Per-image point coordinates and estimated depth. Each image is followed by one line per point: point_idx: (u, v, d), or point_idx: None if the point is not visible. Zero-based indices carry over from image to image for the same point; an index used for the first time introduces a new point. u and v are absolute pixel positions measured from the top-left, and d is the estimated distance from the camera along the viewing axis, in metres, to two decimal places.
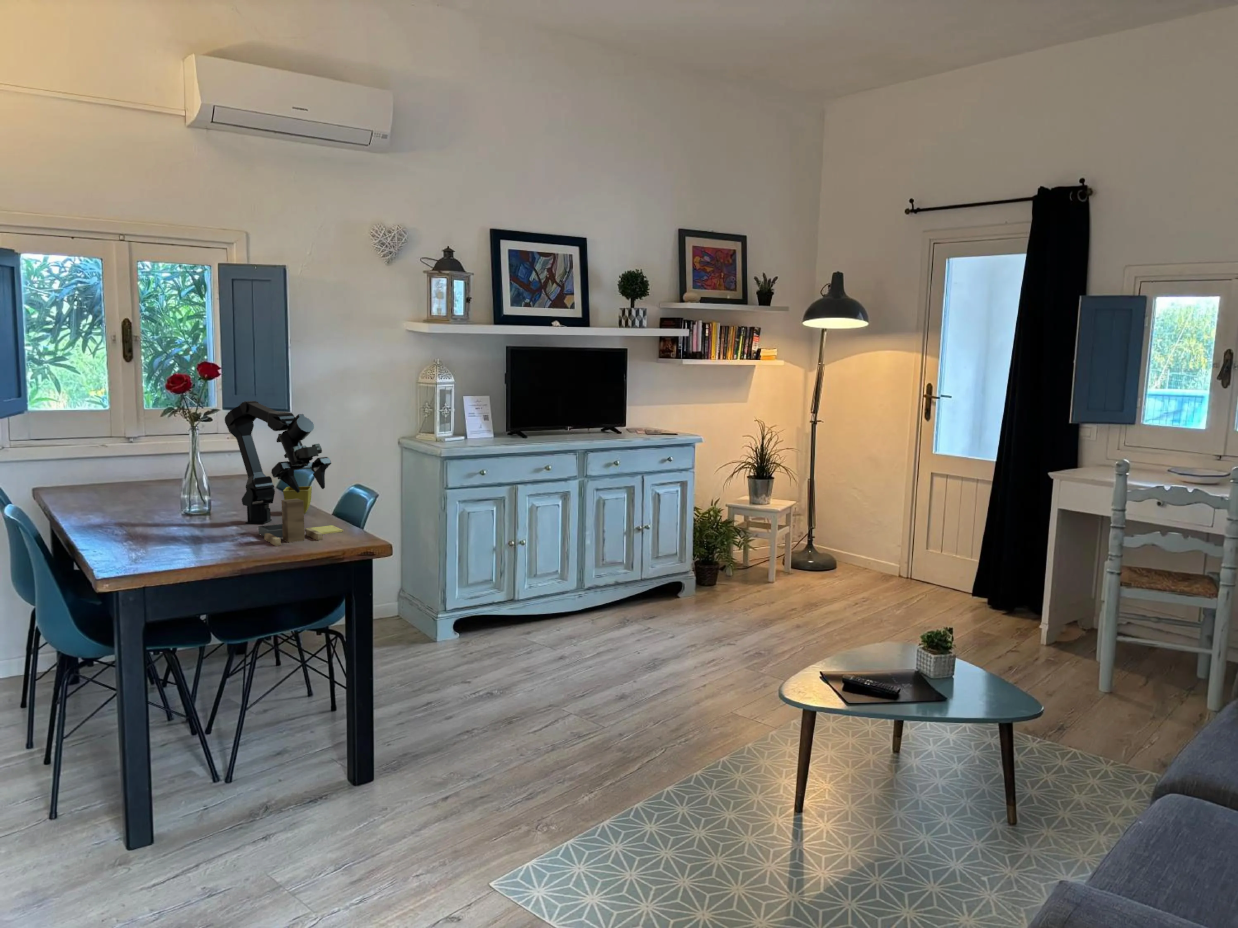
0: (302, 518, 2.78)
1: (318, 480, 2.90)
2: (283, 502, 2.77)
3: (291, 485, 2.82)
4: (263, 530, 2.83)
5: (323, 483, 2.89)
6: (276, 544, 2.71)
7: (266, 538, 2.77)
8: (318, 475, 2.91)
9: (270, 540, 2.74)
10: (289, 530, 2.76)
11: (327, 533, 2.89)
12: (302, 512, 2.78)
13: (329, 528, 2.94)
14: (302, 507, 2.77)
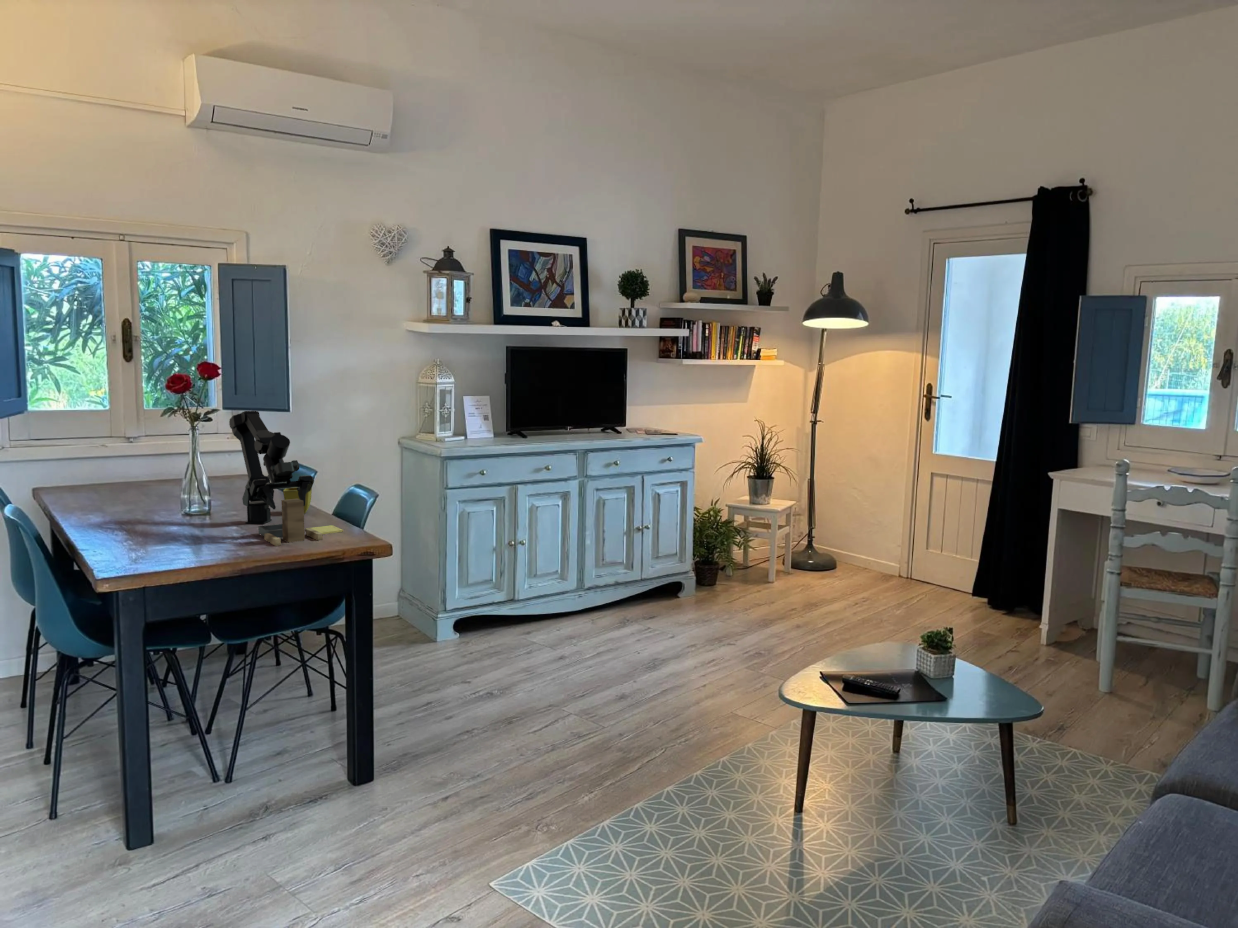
0: (302, 518, 2.78)
1: (300, 498, 2.85)
2: (283, 502, 2.77)
3: (268, 502, 2.78)
4: (263, 530, 2.83)
5: (304, 500, 2.83)
6: (276, 544, 2.71)
7: (266, 538, 2.77)
8: (300, 493, 2.85)
9: (270, 540, 2.74)
10: (289, 530, 2.76)
11: (327, 533, 2.89)
12: (302, 512, 2.78)
13: (329, 528, 2.94)
14: (302, 507, 2.77)
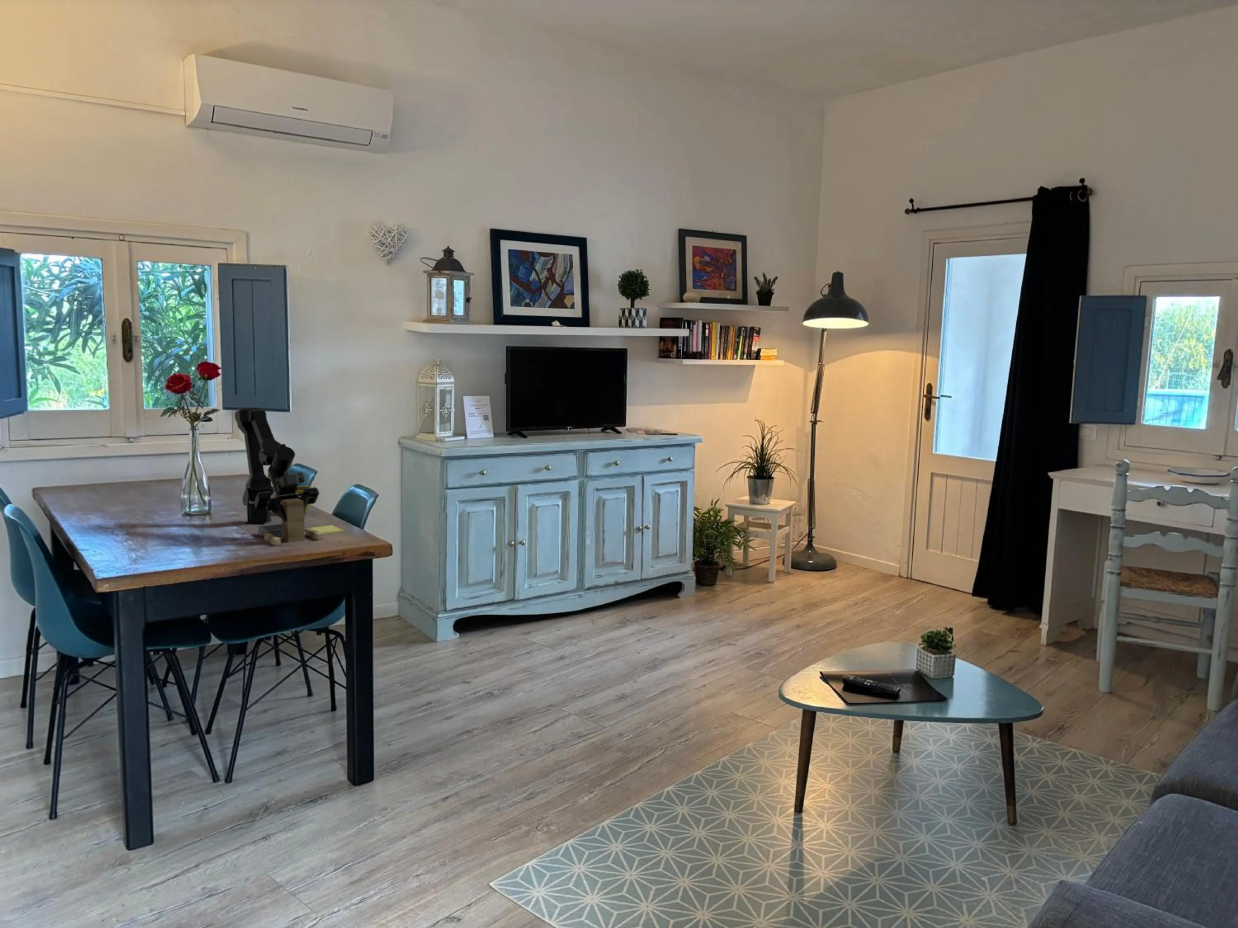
0: (302, 518, 2.78)
1: None
2: (283, 502, 2.77)
3: (279, 515, 2.77)
4: (263, 530, 2.83)
5: None
6: (276, 544, 2.71)
7: (266, 538, 2.77)
8: None
9: (270, 540, 2.74)
10: (289, 530, 2.76)
11: (327, 533, 2.89)
12: (302, 512, 2.78)
13: (329, 528, 2.94)
14: (302, 507, 2.77)
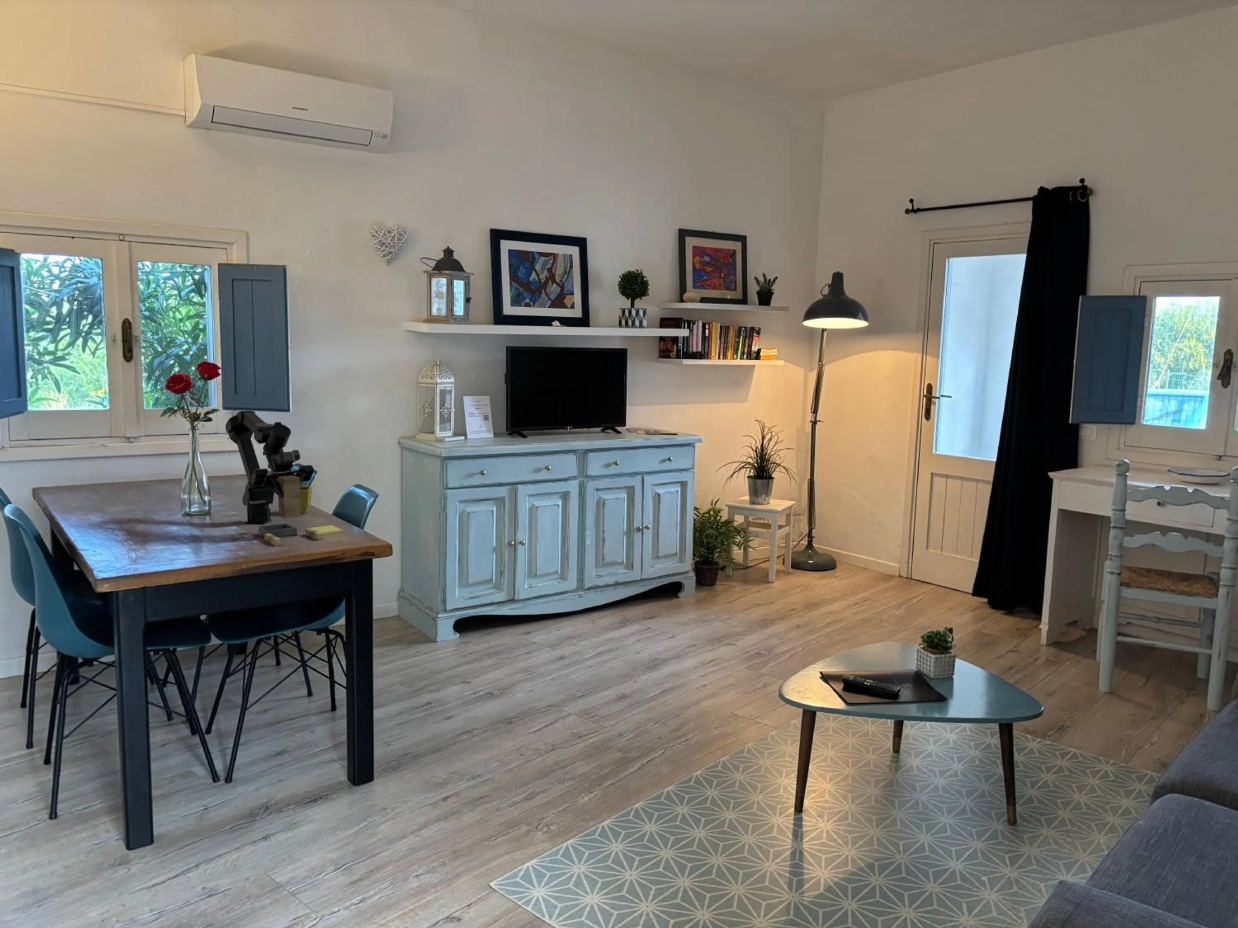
0: (298, 494, 2.82)
1: None
2: (279, 479, 2.81)
3: (275, 491, 2.81)
4: (263, 530, 2.83)
5: None
6: (276, 544, 2.71)
7: (266, 538, 2.77)
8: None
9: (270, 540, 2.74)
10: (286, 506, 2.80)
11: (327, 533, 2.89)
12: (298, 489, 2.82)
13: (329, 528, 2.94)
14: (298, 484, 2.82)
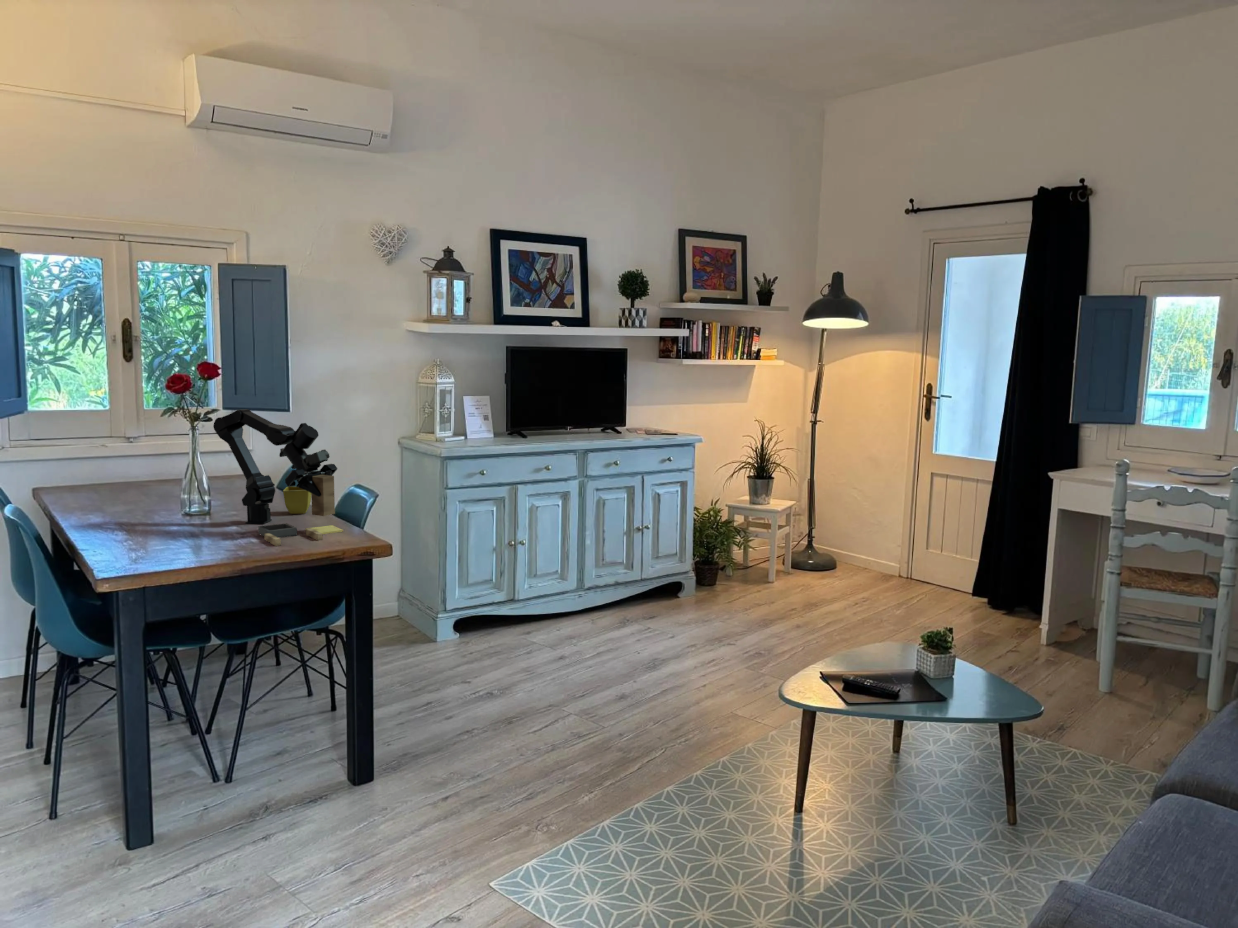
0: (333, 492, 2.92)
1: None
2: (315, 478, 2.89)
3: (311, 490, 2.88)
4: (263, 530, 2.83)
5: None
6: (276, 544, 2.71)
7: (266, 538, 2.77)
8: None
9: (270, 540, 2.74)
10: (324, 504, 2.89)
11: (327, 533, 2.89)
12: (333, 486, 2.92)
13: (329, 528, 2.94)
14: (333, 482, 2.92)
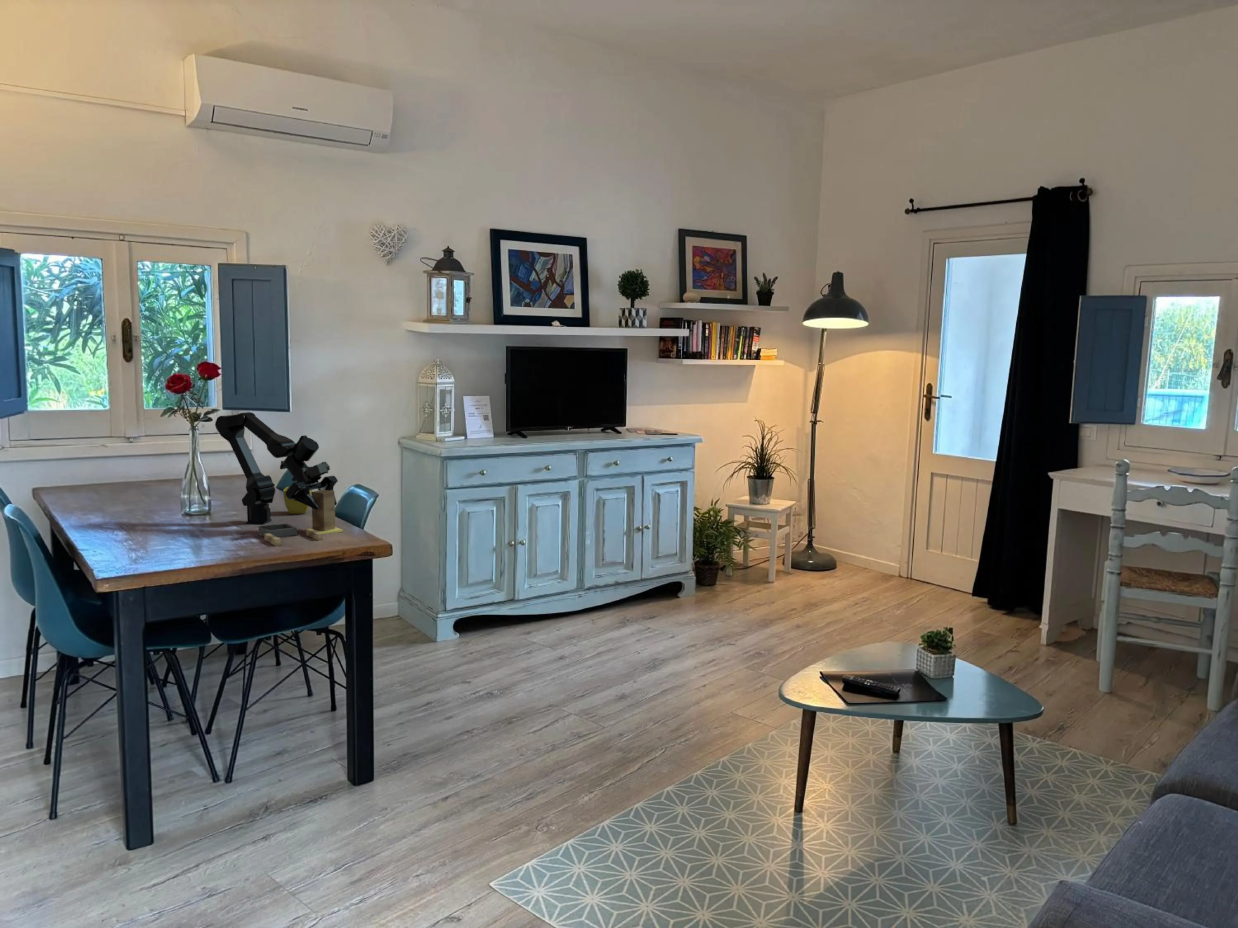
0: (333, 507, 2.93)
1: None
2: (315, 493, 2.89)
3: (308, 503, 2.87)
4: (263, 530, 2.83)
5: None
6: (276, 544, 2.71)
7: (266, 538, 2.77)
8: None
9: (270, 540, 2.74)
10: (325, 519, 2.89)
11: (327, 533, 2.89)
12: (333, 502, 2.92)
13: None
14: (333, 497, 2.92)
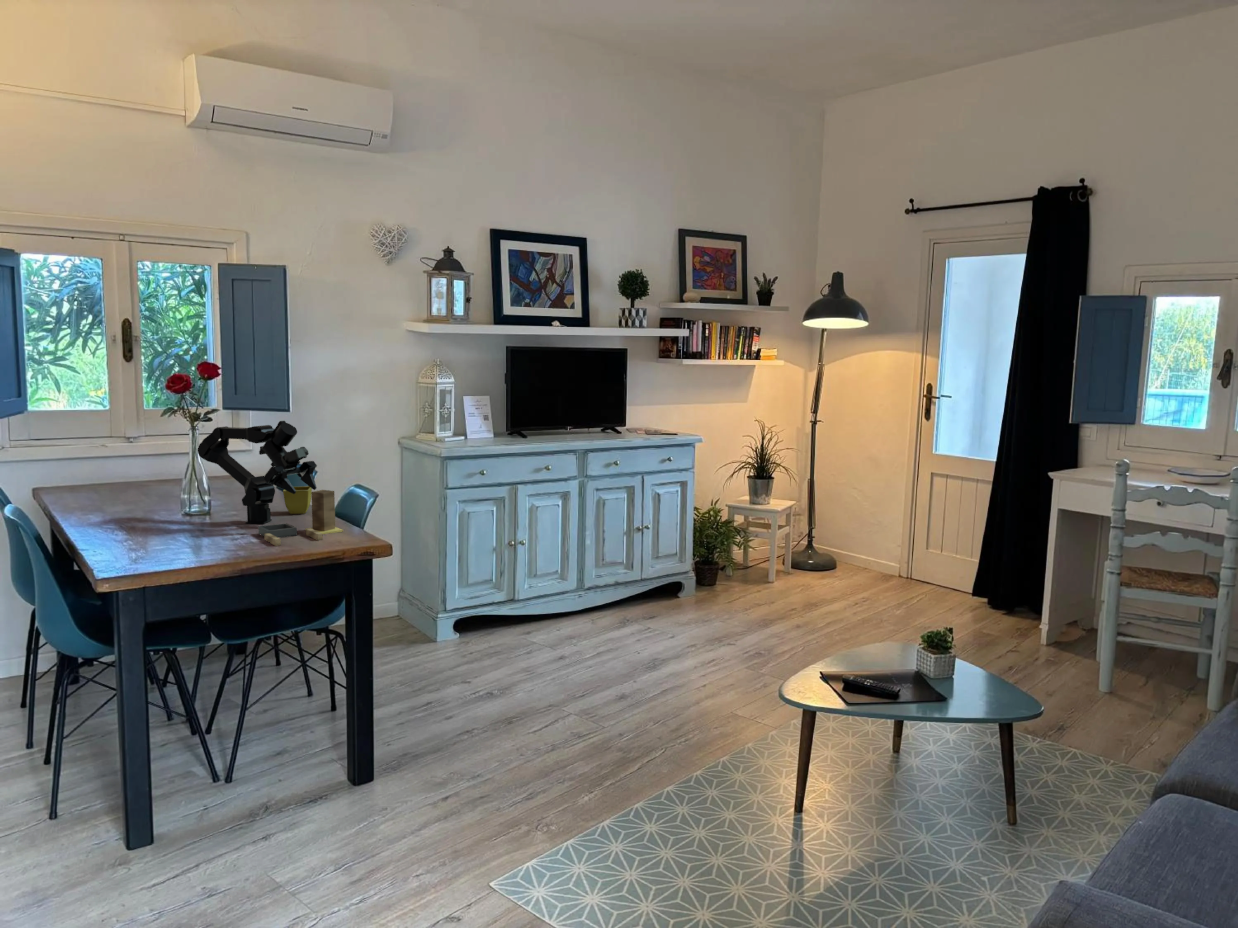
0: (333, 507, 2.93)
1: (308, 483, 3.00)
2: (315, 493, 2.89)
3: (286, 488, 2.90)
4: (263, 530, 2.83)
5: (314, 484, 2.99)
6: (276, 544, 2.71)
7: (266, 538, 2.77)
8: (307, 478, 3.00)
9: (270, 540, 2.74)
10: (325, 519, 2.89)
11: (327, 533, 2.89)
12: (333, 502, 2.92)
13: None
14: (333, 497, 2.92)
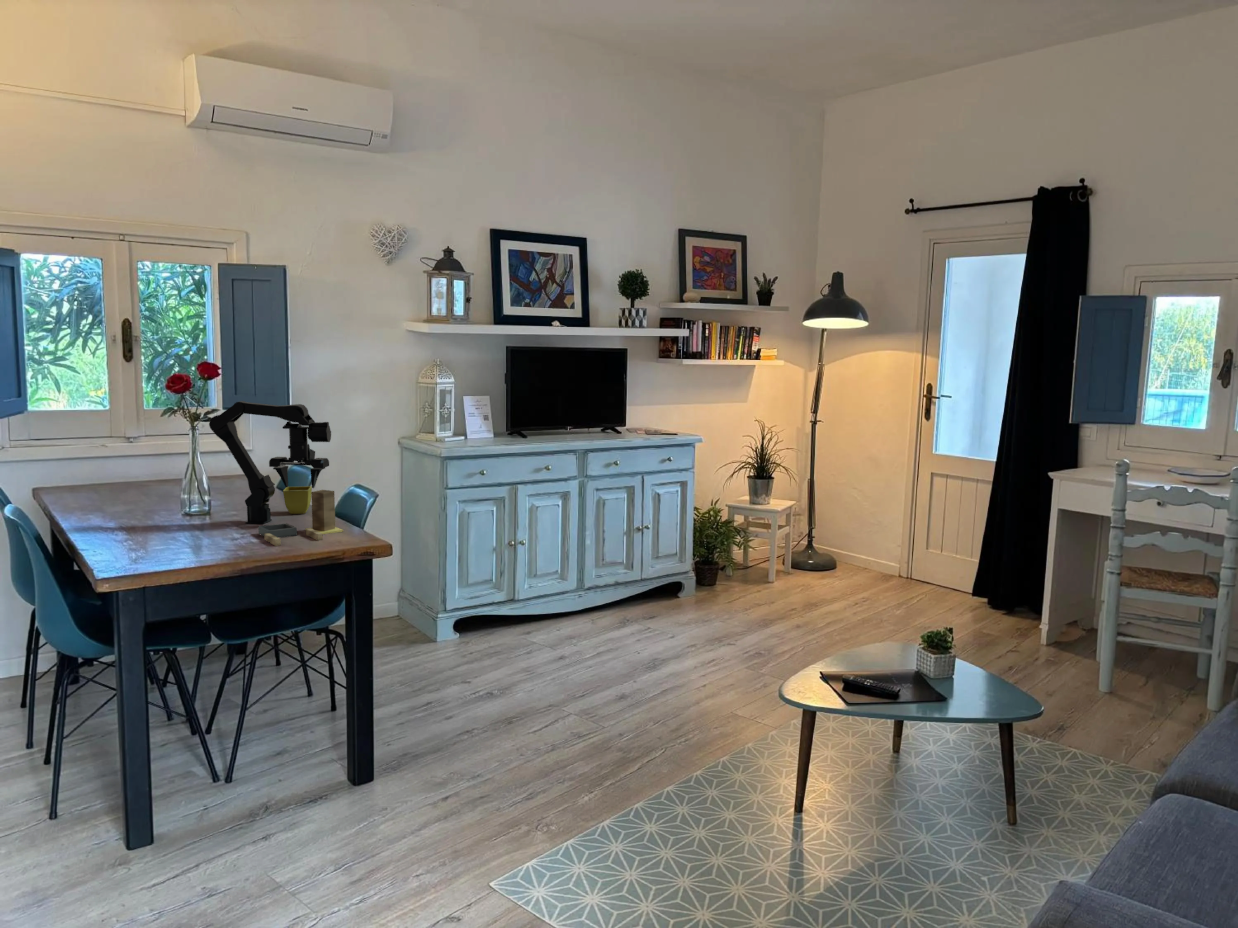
0: (333, 507, 2.93)
1: (285, 477, 3.03)
2: (315, 493, 2.89)
3: (315, 480, 3.03)
4: (263, 530, 2.83)
5: None
6: (276, 544, 2.71)
7: (266, 538, 2.77)
8: (285, 473, 3.04)
9: (270, 540, 2.74)
10: (325, 519, 2.89)
11: (327, 533, 2.89)
12: (333, 502, 2.92)
13: None
14: (333, 497, 2.92)
